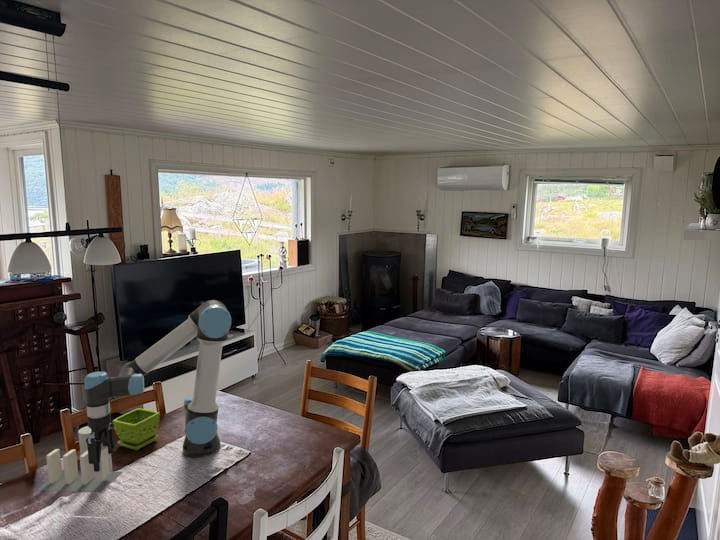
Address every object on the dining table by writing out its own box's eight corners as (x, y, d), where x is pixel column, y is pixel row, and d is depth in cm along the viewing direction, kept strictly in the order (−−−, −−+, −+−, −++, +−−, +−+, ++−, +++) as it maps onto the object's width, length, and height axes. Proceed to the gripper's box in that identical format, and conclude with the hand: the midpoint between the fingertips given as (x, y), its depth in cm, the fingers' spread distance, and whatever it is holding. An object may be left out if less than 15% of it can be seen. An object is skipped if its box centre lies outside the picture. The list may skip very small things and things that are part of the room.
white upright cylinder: (93, 462, 198) (90, 434, 196) (76, 461, 199) (73, 433, 198) (107, 452, 206) (105, 425, 204) (90, 451, 207) (88, 424, 206)
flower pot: (140, 433, 222) (138, 407, 221) (163, 439, 216) (161, 412, 215) (113, 447, 210) (110, 419, 208) (136, 454, 204) (133, 425, 202)
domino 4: (110, 473, 185) (107, 446, 184) (102, 481, 180) (99, 452, 179) (106, 473, 185) (103, 446, 184) (97, 480, 180) (95, 452, 179)
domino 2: (78, 476, 187) (75, 449, 185) (69, 484, 182) (66, 456, 180) (74, 476, 187) (71, 449, 185) (65, 484, 182) (62, 456, 180)
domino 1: (62, 476, 187) (59, 449, 186) (53, 483, 182) (50, 455, 181) (58, 476, 187) (55, 448, 186) (49, 483, 182) (46, 455, 181)
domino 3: (94, 477, 186) (92, 449, 185) (86, 484, 181) (83, 456, 180) (90, 477, 186) (88, 449, 185) (82, 484, 181) (79, 456, 180)
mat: (123, 472, 190) (123, 471, 190) (101, 493, 176) (101, 492, 176) (62, 470, 192) (62, 469, 192) (36, 491, 178) (35, 490, 178)
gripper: (104, 404, 189) (108, 461, 192) (72, 425, 171) (78, 487, 174) (122, 404, 188) (127, 462, 191) (93, 425, 170) (98, 488, 173)
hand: (103, 474), depth 183 cm, fingers closed on domino 4, 5 cm apart
